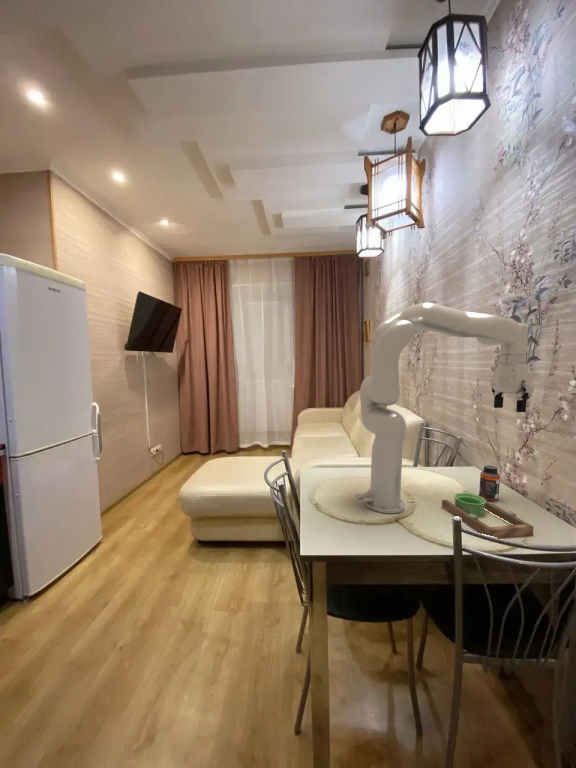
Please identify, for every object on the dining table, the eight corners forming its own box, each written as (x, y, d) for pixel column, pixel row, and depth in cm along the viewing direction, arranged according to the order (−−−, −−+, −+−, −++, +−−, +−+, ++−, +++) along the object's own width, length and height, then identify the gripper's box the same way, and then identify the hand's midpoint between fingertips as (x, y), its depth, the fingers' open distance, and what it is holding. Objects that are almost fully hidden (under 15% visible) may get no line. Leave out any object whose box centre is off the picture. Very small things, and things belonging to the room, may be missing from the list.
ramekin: (448, 509, 113) (448, 496, 113) (462, 503, 119) (463, 490, 118) (476, 520, 106) (477, 506, 106) (490, 513, 112) (491, 499, 111)
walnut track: (488, 539, 95) (488, 527, 95) (441, 507, 115) (441, 497, 115) (533, 535, 98) (534, 523, 98) (479, 504, 118) (480, 494, 118)
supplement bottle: (502, 502, 120) (504, 469, 119) (484, 501, 120) (486, 469, 119) (492, 495, 126) (494, 464, 125) (475, 495, 126) (477, 463, 125)
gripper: (484, 359, 128) (481, 406, 130) (524, 360, 111) (520, 414, 113) (502, 359, 130) (499, 406, 131) (544, 360, 113) (540, 413, 114)
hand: (509, 409), depth 122 cm, fingers open, 9 cm apart
